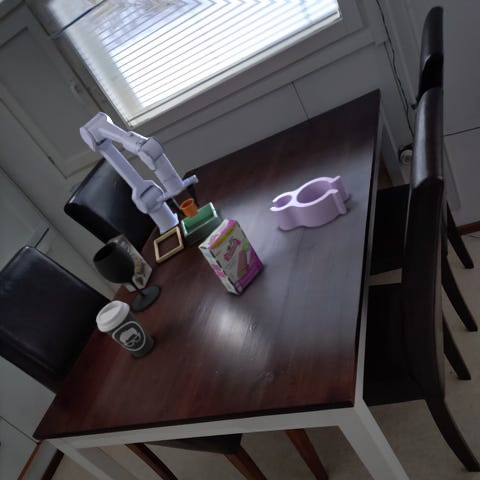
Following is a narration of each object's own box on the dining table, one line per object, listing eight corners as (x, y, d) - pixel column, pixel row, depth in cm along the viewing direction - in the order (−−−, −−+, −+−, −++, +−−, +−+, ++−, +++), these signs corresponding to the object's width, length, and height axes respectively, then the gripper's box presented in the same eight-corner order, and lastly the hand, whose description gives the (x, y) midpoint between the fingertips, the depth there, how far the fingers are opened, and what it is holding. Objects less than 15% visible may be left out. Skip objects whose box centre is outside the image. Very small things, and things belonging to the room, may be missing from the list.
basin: (186, 230, 162) (180, 221, 159) (216, 211, 160) (210, 202, 157) (191, 246, 152) (184, 236, 149) (223, 226, 150) (217, 216, 147)
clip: (277, 237, 129) (267, 218, 125) (285, 211, 137) (275, 192, 133) (345, 218, 119) (336, 197, 115) (349, 191, 127) (341, 170, 123)
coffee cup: (163, 332, 125) (129, 295, 116) (149, 360, 120) (113, 324, 110) (138, 336, 130) (104, 301, 121) (124, 362, 125) (87, 328, 116)
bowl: (186, 215, 155) (179, 204, 152) (199, 207, 154) (192, 196, 151) (188, 221, 150) (181, 211, 148) (201, 213, 150) (194, 202, 147)
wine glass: (136, 316, 138) (93, 269, 126) (129, 302, 146) (87, 257, 134) (163, 294, 139) (122, 246, 127) (154, 282, 147) (115, 235, 135)
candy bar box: (240, 295, 119) (208, 249, 109) (228, 292, 123) (196, 247, 113) (265, 266, 122) (237, 219, 112) (253, 263, 126) (224, 217, 116)
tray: (156, 244, 166) (153, 241, 165) (179, 229, 164) (177, 226, 163) (159, 264, 154) (156, 261, 153) (184, 249, 153) (181, 245, 152)
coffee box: (145, 287, 148) (113, 251, 138) (130, 292, 151) (98, 257, 141) (153, 269, 154) (123, 233, 144) (138, 274, 157) (108, 239, 147)
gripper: (149, 193, 141) (174, 226, 149) (189, 168, 139) (211, 203, 147) (148, 185, 146) (172, 218, 154) (186, 161, 144) (208, 195, 152)
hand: (191, 210), depth 151 cm, fingers closed on bowl, 5 cm apart
